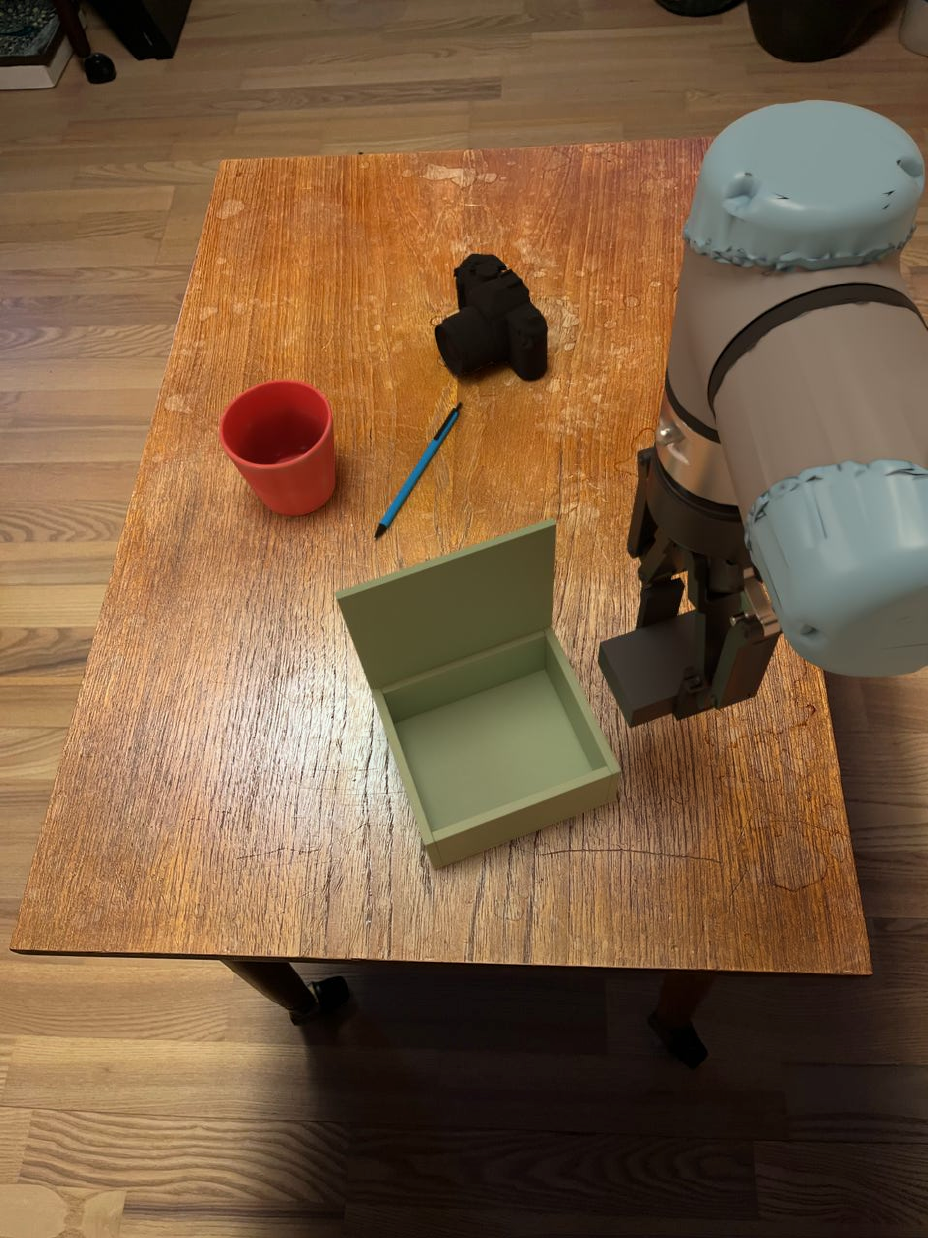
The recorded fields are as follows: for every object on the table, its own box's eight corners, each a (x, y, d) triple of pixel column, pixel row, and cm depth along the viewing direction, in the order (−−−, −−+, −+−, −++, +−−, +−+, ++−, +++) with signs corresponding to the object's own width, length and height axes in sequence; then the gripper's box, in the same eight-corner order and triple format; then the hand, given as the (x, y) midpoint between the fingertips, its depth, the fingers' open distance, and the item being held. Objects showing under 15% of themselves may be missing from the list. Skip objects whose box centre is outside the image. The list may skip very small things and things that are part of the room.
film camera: (413, 330, 102) (403, 263, 95) (486, 295, 104) (482, 227, 96) (483, 413, 95) (478, 348, 87) (560, 374, 97) (561, 307, 89)
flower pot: (368, 459, 93) (351, 392, 85) (321, 542, 88) (298, 479, 80) (278, 434, 96) (253, 366, 87) (227, 513, 91) (196, 449, 83)
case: (615, 800, 73) (621, 771, 67) (434, 870, 72) (424, 845, 66) (550, 662, 80) (550, 624, 74) (383, 722, 78) (370, 688, 72)
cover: (556, 523, 61) (553, 517, 61) (336, 599, 59) (334, 592, 60) (552, 625, 74) (549, 619, 74) (370, 690, 72) (368, 683, 72)
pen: (465, 407, 96) (464, 400, 95) (378, 543, 88) (377, 537, 87) (457, 405, 96) (456, 397, 95) (370, 540, 88) (369, 533, 87)
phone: (749, 685, 63) (758, 666, 60) (629, 729, 62) (633, 710, 59) (712, 621, 65) (719, 600, 63) (597, 662, 64) (599, 642, 62)
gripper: (583, 347, 47) (571, 585, 67) (756, 633, 38) (682, 811, 58) (714, 307, 48) (663, 554, 68) (914, 577, 39) (788, 771, 59)
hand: (672, 672), depth 63 cm, fingers closed on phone, 5 cm apart
